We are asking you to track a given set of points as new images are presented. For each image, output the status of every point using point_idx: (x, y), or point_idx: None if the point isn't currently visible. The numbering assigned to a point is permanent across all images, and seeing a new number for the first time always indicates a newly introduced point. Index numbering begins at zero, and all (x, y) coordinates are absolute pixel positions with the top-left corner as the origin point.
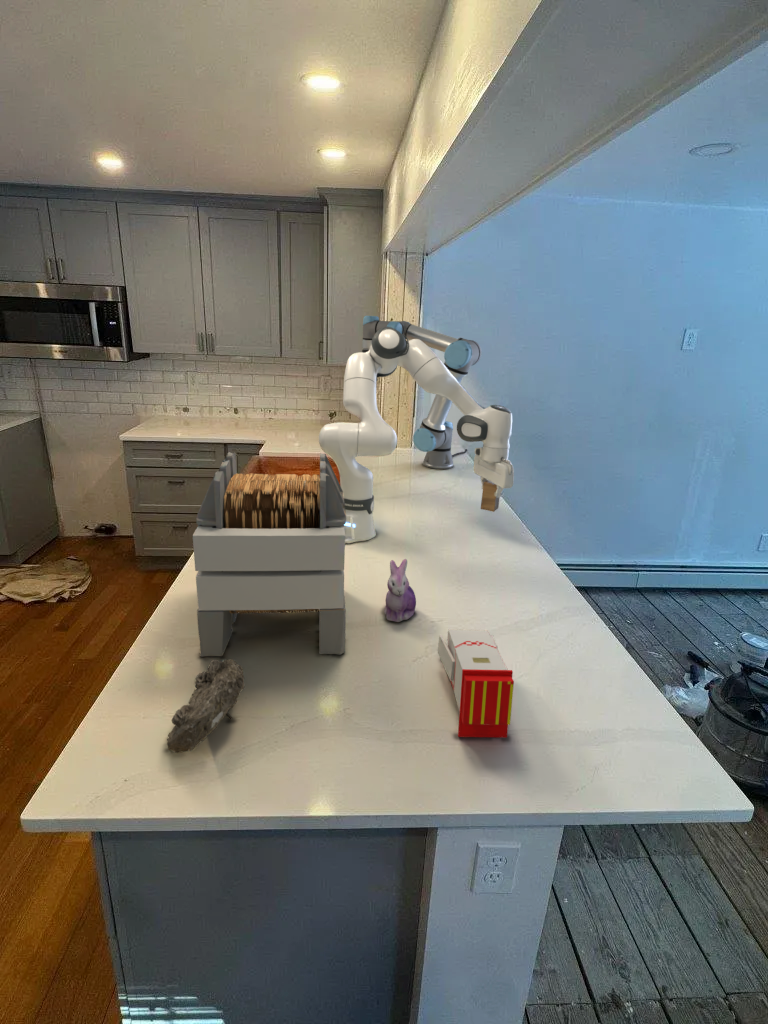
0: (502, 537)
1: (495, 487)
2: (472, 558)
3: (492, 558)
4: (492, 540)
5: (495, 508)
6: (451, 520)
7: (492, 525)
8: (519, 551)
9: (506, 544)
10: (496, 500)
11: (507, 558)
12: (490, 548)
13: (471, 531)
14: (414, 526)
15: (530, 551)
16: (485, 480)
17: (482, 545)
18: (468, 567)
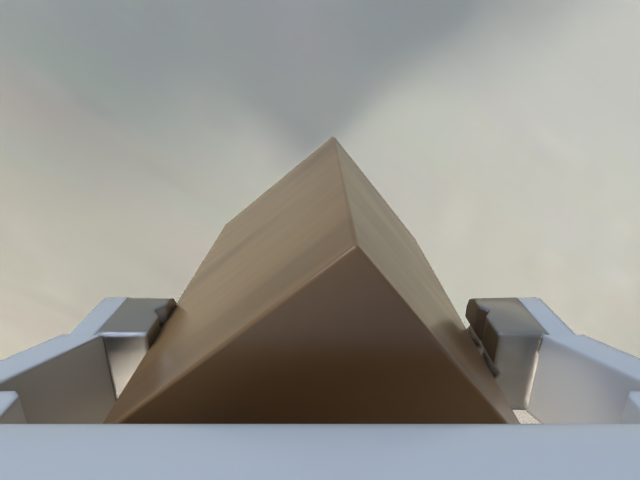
0: (370, 76)
1: None
2: None
3: (589, 297)
4: (391, 169)
5: (400, 222)
6: (34, 244)
7: (149, 14)
8: (596, 101)
9: (475, 119)
10: (416, 255)
11: (630, 226)
12: (484, 242)
13: (228, 217)
14: None
15: (633, 27)
16: (23, 407)
17: (432, 261)
18: None
